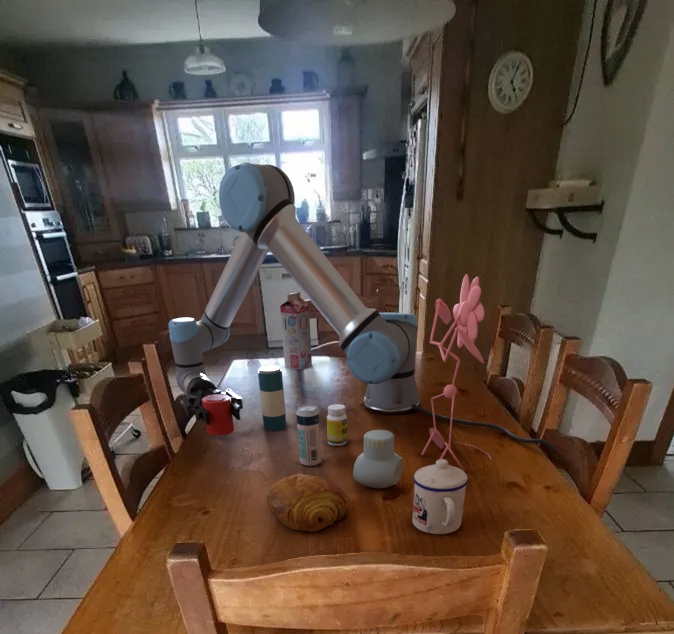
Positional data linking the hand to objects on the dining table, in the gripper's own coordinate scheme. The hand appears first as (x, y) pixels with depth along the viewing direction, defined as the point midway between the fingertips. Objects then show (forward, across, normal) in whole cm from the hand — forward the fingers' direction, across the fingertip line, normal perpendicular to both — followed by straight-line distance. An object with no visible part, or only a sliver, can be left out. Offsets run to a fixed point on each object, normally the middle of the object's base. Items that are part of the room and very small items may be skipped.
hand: (223, 416), depth 128 cm
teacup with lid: (+58, -23, -6) cm, 62 cm away
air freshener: (+37, -22, -6) cm, 43 cm away
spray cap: (-5, 0, -5) cm, 7 cm away
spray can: (-5, -14, -6) cm, 16 cm away
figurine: (+35, -42, -6) cm, 55 cm away
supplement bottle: (+13, -24, -6) cm, 28 cm away
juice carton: (-58, -41, -7) cm, 71 cm away
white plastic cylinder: (+21, -13, -6) cm, 26 cm away
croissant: (+43, -4, -6) cm, 43 cm away
